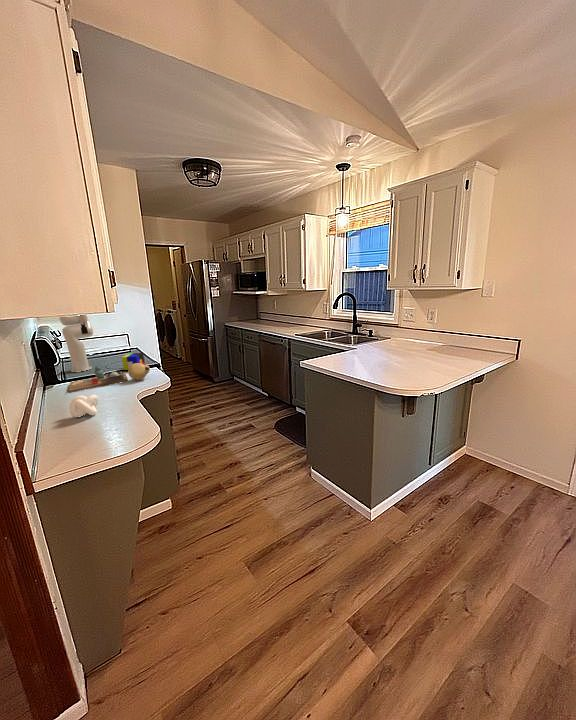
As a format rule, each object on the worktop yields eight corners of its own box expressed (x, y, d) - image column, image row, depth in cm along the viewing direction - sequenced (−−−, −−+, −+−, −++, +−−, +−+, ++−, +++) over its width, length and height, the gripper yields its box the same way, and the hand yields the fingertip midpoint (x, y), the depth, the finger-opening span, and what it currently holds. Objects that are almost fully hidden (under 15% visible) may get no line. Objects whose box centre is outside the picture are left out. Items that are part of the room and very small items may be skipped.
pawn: (97, 377, 199) (94, 366, 197) (105, 376, 201) (102, 365, 198) (95, 379, 195) (92, 368, 193) (104, 378, 197) (101, 366, 194)
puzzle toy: (138, 370, 216) (136, 356, 213) (124, 371, 216) (121, 357, 213) (145, 366, 225) (143, 352, 223) (131, 367, 226) (129, 353, 223)
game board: (71, 384, 195) (69, 377, 194) (125, 374, 210) (123, 367, 208) (69, 392, 180) (67, 385, 179) (128, 381, 195) (126, 374, 194)
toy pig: (152, 379, 195) (149, 363, 192) (130, 383, 190) (127, 366, 187) (150, 375, 203) (147, 359, 200) (129, 379, 198) (126, 362, 195)
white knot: (66, 422, 142) (61, 403, 140) (77, 411, 154) (73, 394, 151) (93, 418, 144) (89, 400, 142) (103, 408, 156) (99, 391, 153)
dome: (109, 378, 196) (108, 371, 195) (119, 376, 199) (118, 369, 197) (110, 381, 191) (108, 374, 190) (120, 379, 194) (119, 372, 193)
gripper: (85, 303, 187) (92, 334, 192) (85, 302, 199) (92, 331, 204) (70, 304, 183) (77, 336, 188) (71, 303, 195) (78, 332, 200)
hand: (85, 333), depth 196 cm, fingers closed
